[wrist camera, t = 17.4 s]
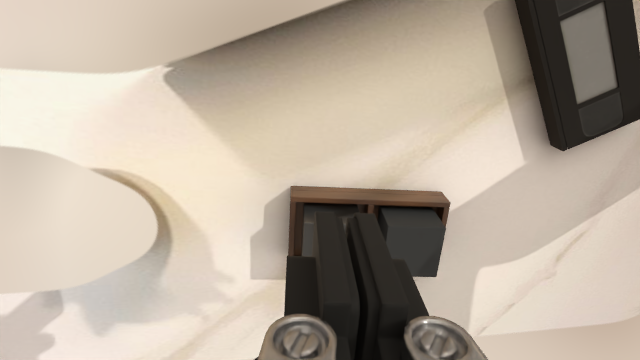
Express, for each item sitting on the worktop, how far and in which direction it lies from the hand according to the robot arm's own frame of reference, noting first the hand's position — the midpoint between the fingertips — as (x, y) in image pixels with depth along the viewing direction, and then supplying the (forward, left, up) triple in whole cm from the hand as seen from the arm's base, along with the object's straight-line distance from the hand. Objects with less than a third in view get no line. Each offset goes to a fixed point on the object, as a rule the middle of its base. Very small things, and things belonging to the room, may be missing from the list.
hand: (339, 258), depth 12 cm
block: (-9, +12, -24) cm, 28 cm away
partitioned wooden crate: (-6, +12, -25) cm, 28 cm away
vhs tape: (-22, -5, -25) cm, 34 cm away
